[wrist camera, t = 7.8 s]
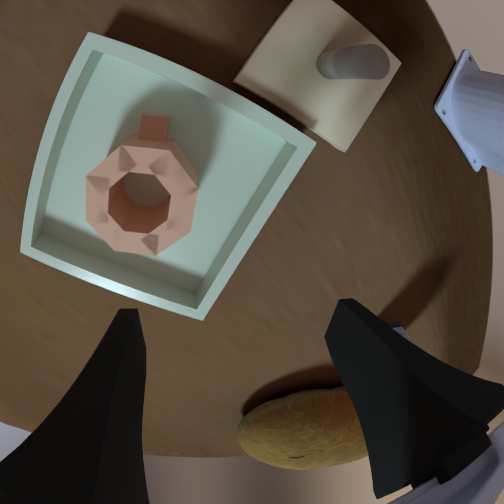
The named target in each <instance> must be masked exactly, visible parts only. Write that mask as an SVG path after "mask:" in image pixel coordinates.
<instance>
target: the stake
mask: <svg viewBox="0 0 504 504" xmlns="http://www.w3.org/2000/svg"><path fill="white" fill-rule="evenodd" d="M400 65H401V62H400V61H399V60H398V59H397V58H396V57H395V56H394V55H393V54H392V53H391V52H390V51H389V50H388V49H387V48H386V47H385V46H384V45H383V44H382V43H381V42H380V41H379V40H378V39H377V38H376V37H375V36H374V35H373V34H372V33H371V32H370V31H368V30H367V29H366V28H365V27H364V26H363V25H362V24H361V23H359V22H358V21H357V20H356V19H355V18H353V17H352V16H351V15H350V14H349V13H347V12H346V11H345V10H344V9H342V8H341V7H340V6H338V5H337V4H336V3H334V2H333V1H332V0H292V1H291V2H290V3H289V5H288V6H287V7H286V8H285V10H284V11H283V12H282V13H281V15H280V16H279V17H278V18H277V20H276V21H275V22H274V24H273V25H272V26H271V28H270V29H269V30H268V32H267V33H266V34H265V36H264V37H263V38H262V40H261V41H260V42H259V44H258V45H257V47H256V48H255V49H254V51H253V52H252V54H251V55H250V57H249V58H248V60H247V61H246V62H245V64H244V65H243V67H242V68H241V70H240V71H239V73H238V74H237V76H236V77H235V79H234V81H233V82H234V83H236V84H238V85H239V86H241V87H243V88H245V89H247V90H248V91H250V92H252V93H254V94H255V95H257V96H259V97H260V98H262V99H264V100H265V101H267V102H269V103H270V104H272V105H274V106H275V107H277V108H279V109H280V110H282V111H283V112H285V113H286V114H288V115H290V116H291V117H293V118H294V119H296V120H297V121H299V122H300V123H302V124H303V125H305V126H306V127H308V128H309V129H310V130H312V131H313V132H315V133H316V134H318V135H319V136H320V137H322V138H323V139H325V140H326V141H327V142H329V143H330V144H331V145H333V146H334V147H335V148H337V149H338V150H341V151H343V152H346V150H347V149H348V147H349V146H350V144H351V143H352V141H353V140H354V138H355V137H356V135H357V133H358V132H359V130H360V129H361V127H362V126H363V124H364V122H365V121H366V119H367V118H368V116H369V115H370V113H371V112H372V110H373V108H374V107H375V105H376V104H377V102H378V100H379V99H380V97H381V96H382V94H383V92H384V91H385V89H386V88H387V86H388V84H389V83H390V81H391V80H392V78H393V76H394V75H395V73H396V72H397V70H398V68H399V67H400Z"/></svg>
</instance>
